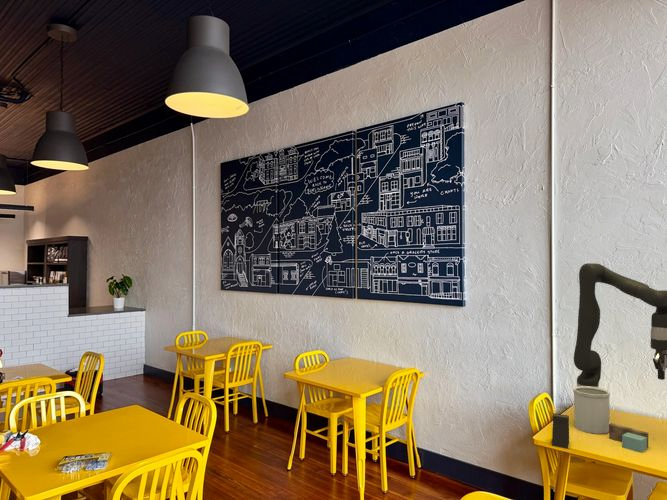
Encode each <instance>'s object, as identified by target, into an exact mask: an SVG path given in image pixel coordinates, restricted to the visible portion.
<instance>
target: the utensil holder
mask: <svg viewBox="0 0 667 500" xmlns="http://www.w3.org/2000/svg"><path fill="white" fill-rule="evenodd" d="M572 392H573V407H574V408H573V411H574V412H573V413H574V428H576V429H577V430H579V431H582V432H585V433H589V434H593V435H594V434H596V435H597V434H598V435H604V434H607V433H608V434H609V424H610V419H611V418H610V396H611V392H610V391H609V390H607V389H605V388H601V387H599V388H597V387H589V386H579V387H577V386H575V387H573V389H572Z"/></svg>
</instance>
